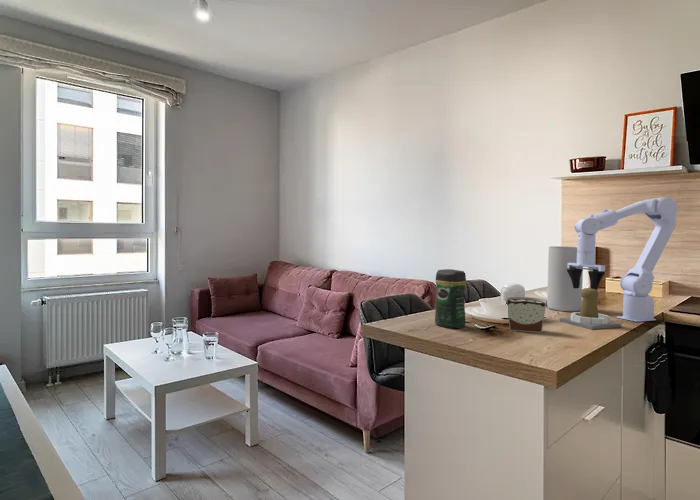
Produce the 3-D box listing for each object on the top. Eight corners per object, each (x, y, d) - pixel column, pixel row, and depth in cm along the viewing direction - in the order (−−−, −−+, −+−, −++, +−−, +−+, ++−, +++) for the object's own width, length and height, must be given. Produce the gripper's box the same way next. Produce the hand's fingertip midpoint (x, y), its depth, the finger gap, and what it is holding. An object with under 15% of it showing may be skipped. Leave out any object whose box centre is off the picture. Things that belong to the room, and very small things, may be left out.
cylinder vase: (587, 312, 171) (589, 247, 170) (555, 311, 171) (557, 247, 170) (572, 306, 184) (573, 246, 182) (541, 306, 184) (543, 246, 183)
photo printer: (515, 315, 164) (516, 282, 163) (526, 317, 160) (527, 283, 160) (497, 318, 158) (498, 283, 158) (508, 320, 155) (508, 285, 154)
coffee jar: (469, 326, 143) (470, 270, 142) (453, 330, 139) (454, 271, 138) (447, 321, 151) (447, 267, 150) (430, 324, 147) (431, 268, 146)
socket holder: (588, 319, 157) (588, 310, 157) (621, 326, 145) (621, 317, 145) (559, 321, 153) (560, 312, 153) (591, 329, 141) (591, 320, 141)
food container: (545, 329, 141) (546, 298, 141) (547, 333, 135) (548, 300, 135) (504, 326, 145) (505, 295, 145) (504, 329, 139) (505, 298, 139)
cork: (574, 319, 152) (575, 287, 151) (590, 319, 153) (591, 287, 152) (586, 323, 146) (587, 290, 145) (603, 322, 147) (604, 289, 146)
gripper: (561, 250, 163) (560, 287, 164) (594, 253, 149) (593, 292, 150) (576, 250, 165) (574, 286, 166) (610, 252, 152) (609, 292, 152)
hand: (584, 289), depth 158 cm, fingers open, 7 cm apart
